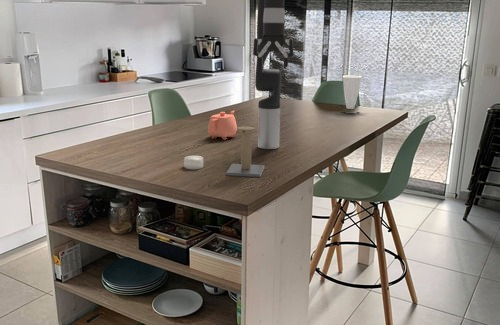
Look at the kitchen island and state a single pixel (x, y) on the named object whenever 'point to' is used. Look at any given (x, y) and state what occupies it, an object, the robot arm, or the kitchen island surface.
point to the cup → (351, 90)
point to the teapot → (222, 125)
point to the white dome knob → (193, 162)
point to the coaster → (238, 171)
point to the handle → (246, 146)
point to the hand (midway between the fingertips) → (272, 68)
